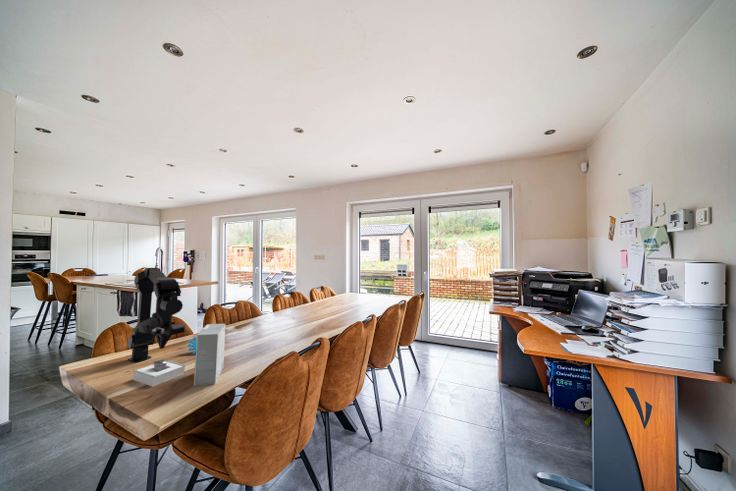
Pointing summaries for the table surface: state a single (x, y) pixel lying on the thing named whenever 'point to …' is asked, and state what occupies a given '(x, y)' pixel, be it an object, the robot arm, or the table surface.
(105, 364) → the table surface
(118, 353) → the table surface
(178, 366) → the jig
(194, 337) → the gear
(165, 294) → the robot arm
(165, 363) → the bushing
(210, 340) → the hard drive box
